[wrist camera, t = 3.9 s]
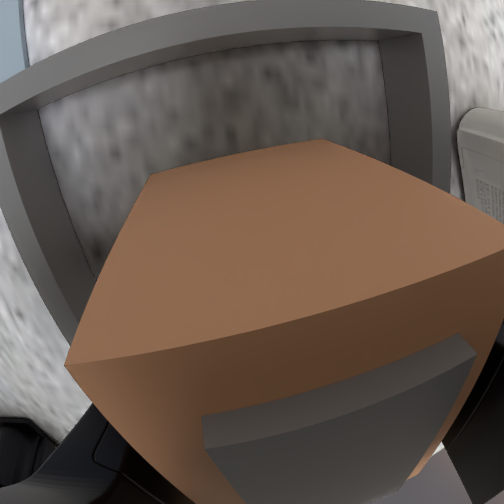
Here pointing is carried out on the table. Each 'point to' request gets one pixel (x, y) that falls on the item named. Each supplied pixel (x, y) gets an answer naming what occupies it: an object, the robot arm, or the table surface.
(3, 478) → the robot arm
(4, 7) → the mat
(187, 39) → the grey open frame
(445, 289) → the block
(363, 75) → the table surface
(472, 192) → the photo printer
